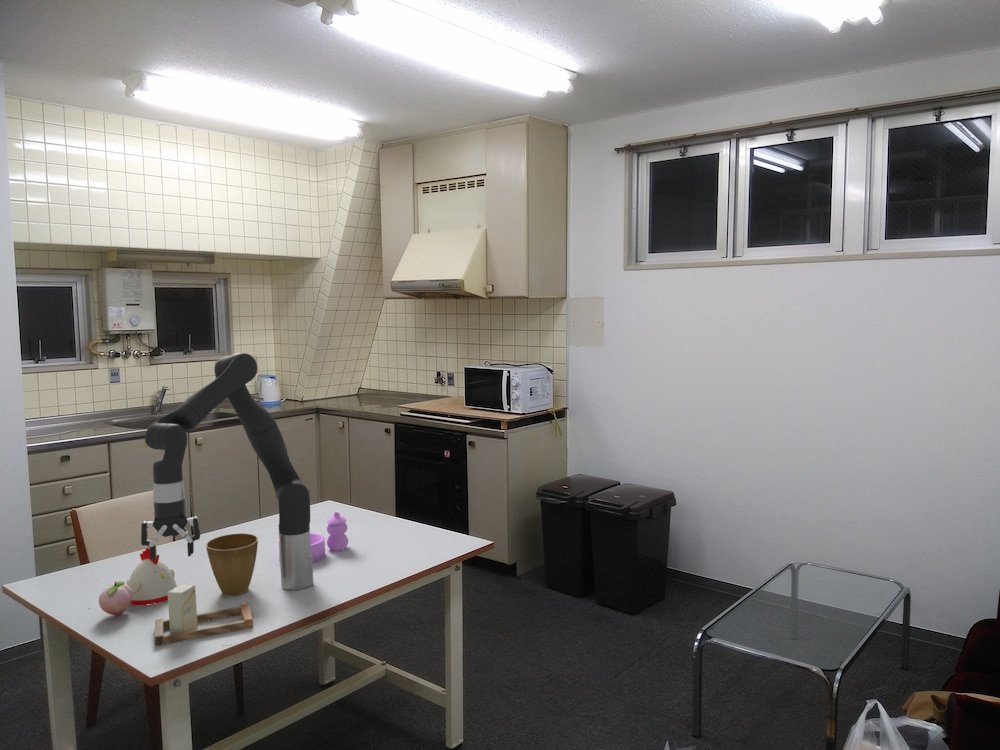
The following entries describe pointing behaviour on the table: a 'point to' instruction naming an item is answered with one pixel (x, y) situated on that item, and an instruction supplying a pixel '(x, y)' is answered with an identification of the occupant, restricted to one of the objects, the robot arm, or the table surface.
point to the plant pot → (233, 561)
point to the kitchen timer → (150, 580)
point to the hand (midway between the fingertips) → (172, 557)
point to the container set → (329, 538)
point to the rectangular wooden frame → (206, 631)
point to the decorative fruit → (116, 598)
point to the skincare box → (182, 608)
